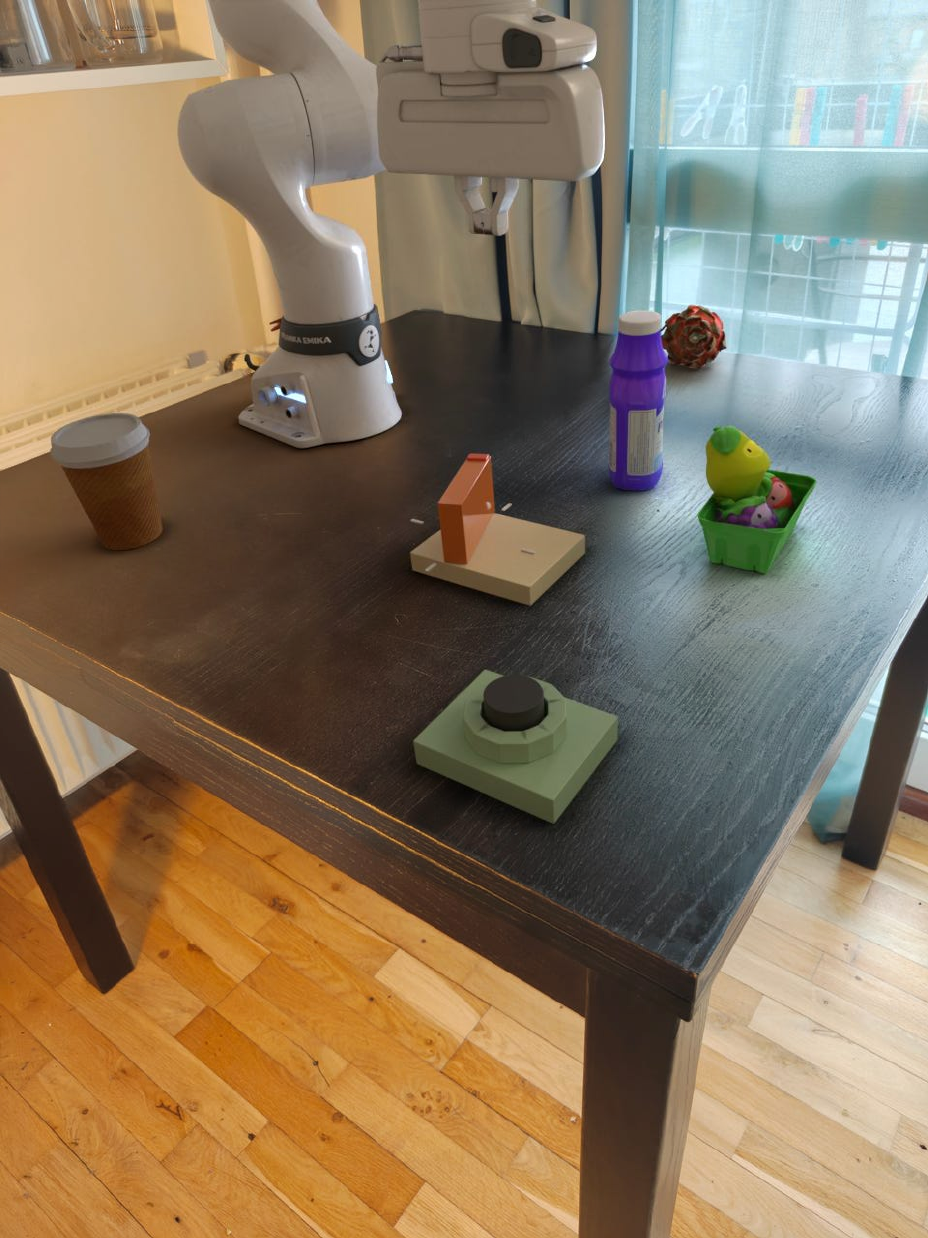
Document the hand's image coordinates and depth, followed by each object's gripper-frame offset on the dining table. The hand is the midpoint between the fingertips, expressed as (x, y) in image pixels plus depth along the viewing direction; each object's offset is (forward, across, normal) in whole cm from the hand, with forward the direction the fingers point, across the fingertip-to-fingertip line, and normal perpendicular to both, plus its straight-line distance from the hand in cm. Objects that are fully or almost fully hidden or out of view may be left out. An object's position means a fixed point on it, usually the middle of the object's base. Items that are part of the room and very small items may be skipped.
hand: (488, 233), depth 75 cm
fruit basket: (+27, +24, +4) cm, 36 cm away
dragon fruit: (+28, 0, +48) cm, 55 cm away
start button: (+22, +21, -30) cm, 43 cm away
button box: (+26, +21, -30) cm, 45 cm away
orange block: (+25, +2, -9) cm, 26 cm away
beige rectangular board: (+27, +4, -9) cm, 28 cm away
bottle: (+27, +9, +12) cm, 31 cm away
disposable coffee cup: (+28, -32, -22) cm, 48 cm away
